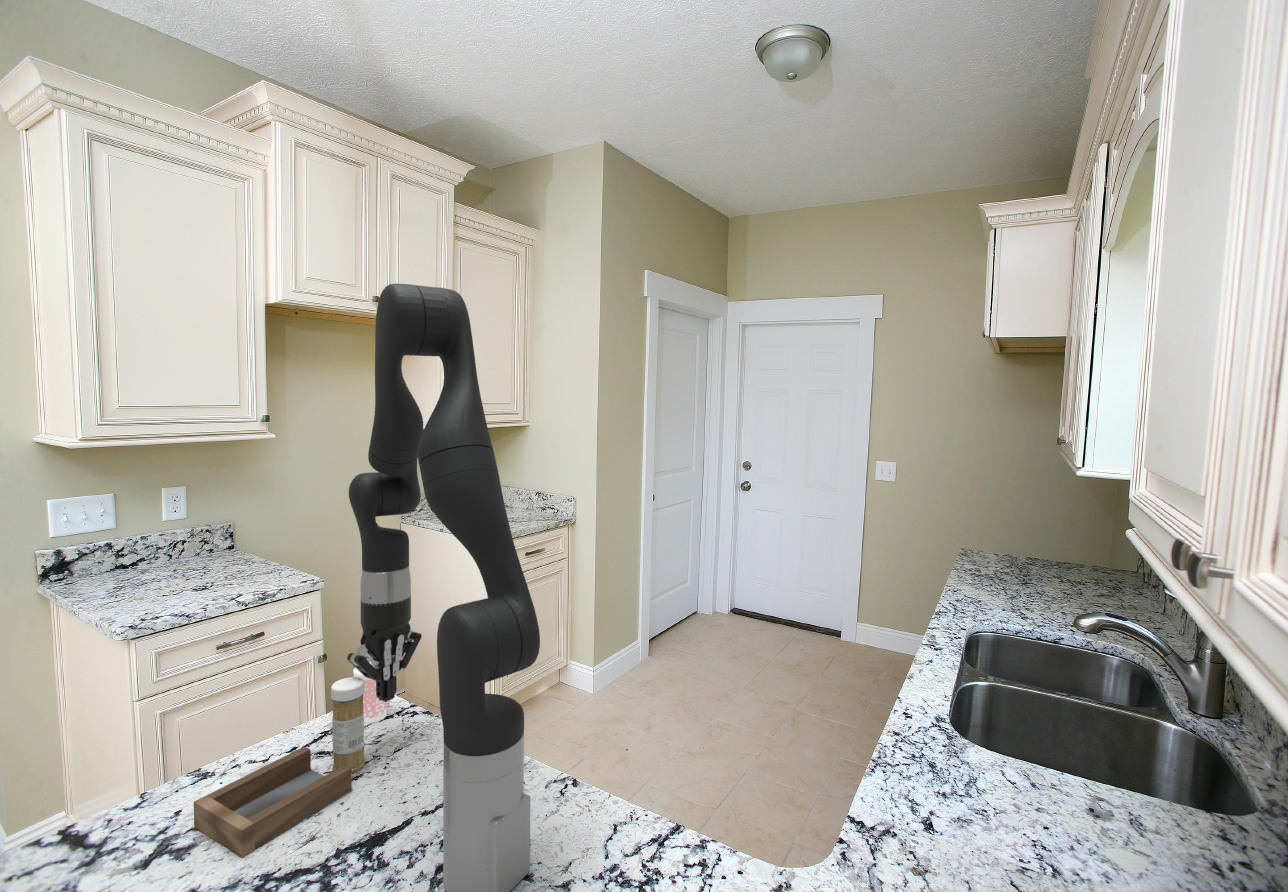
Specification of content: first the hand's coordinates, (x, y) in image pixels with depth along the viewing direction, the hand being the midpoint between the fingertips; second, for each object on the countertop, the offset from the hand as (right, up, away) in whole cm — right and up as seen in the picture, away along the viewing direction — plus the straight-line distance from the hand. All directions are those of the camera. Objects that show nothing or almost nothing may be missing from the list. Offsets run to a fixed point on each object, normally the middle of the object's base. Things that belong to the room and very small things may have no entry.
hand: (386, 698), depth 98 cm
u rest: (-8, -9, -14) cm, 19 cm away
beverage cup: (-7, -8, +10) cm, 14 cm away
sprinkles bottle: (-3, -8, -6) cm, 11 cm away
